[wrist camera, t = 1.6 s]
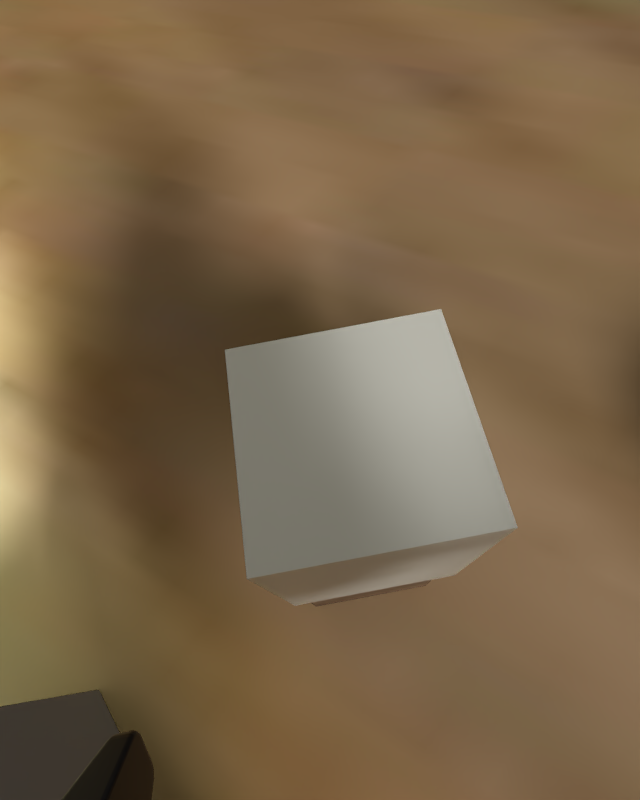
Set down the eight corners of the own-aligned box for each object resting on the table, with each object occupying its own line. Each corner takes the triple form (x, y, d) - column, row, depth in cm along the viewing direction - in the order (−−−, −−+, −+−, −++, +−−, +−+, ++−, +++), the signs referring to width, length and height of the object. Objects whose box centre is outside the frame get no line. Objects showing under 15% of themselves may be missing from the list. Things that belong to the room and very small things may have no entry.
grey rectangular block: (454, 575, 15) (517, 527, 9) (295, 605, 15) (246, 579, 9) (413, 429, 17) (440, 308, 11) (274, 455, 17) (224, 349, 11)
